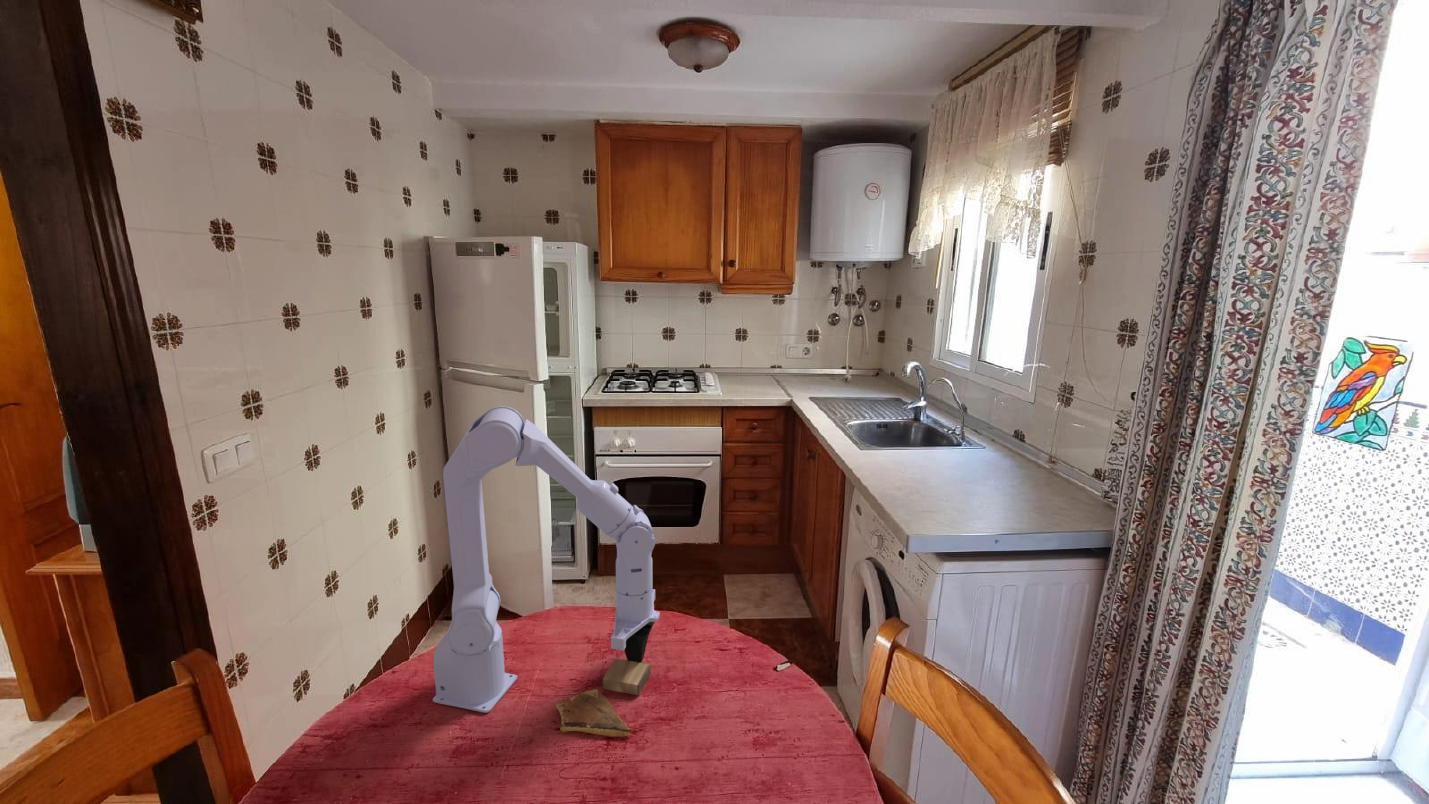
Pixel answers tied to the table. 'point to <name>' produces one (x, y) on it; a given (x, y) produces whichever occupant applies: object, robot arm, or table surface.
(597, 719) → the shard
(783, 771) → the table surface
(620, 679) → the oak slab
